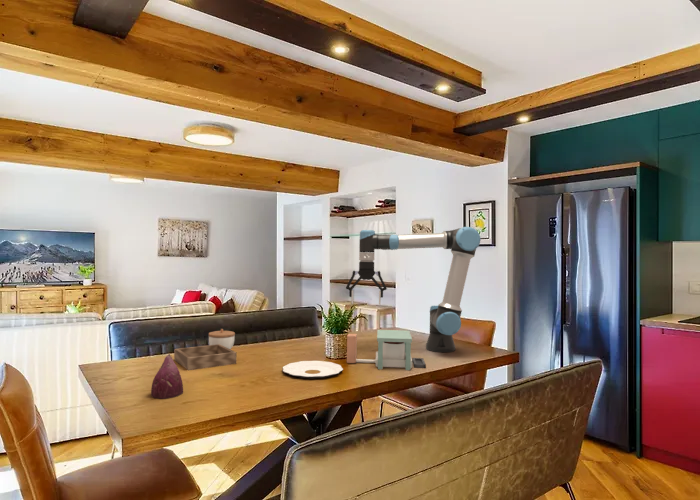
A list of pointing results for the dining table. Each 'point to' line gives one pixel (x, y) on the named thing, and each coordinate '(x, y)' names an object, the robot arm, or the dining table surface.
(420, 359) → the pit tray
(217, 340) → the lidded bowl
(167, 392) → the vegetable
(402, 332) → the mint green stool
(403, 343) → the cup
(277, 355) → the dining table surface
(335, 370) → the plate
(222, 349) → the brown wooden tray
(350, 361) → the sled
